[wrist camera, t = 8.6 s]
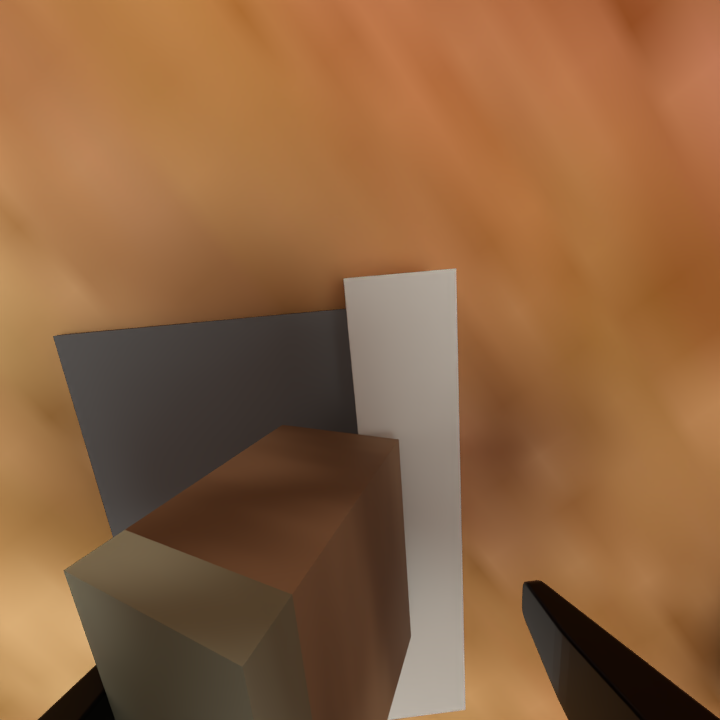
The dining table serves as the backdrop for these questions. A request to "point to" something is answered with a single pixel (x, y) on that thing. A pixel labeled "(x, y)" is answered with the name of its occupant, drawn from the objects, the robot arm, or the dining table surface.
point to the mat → (200, 397)
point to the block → (258, 588)
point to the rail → (418, 462)
